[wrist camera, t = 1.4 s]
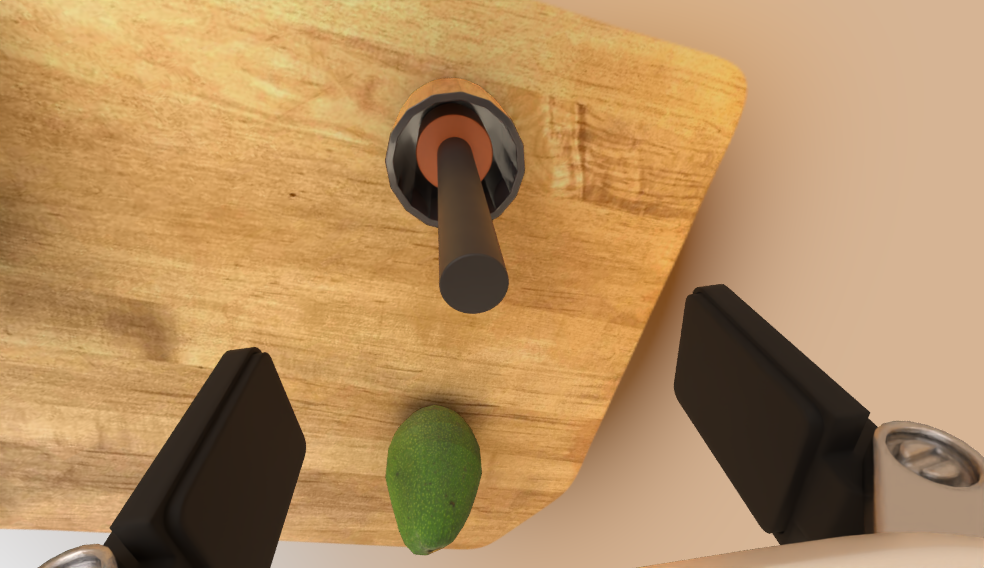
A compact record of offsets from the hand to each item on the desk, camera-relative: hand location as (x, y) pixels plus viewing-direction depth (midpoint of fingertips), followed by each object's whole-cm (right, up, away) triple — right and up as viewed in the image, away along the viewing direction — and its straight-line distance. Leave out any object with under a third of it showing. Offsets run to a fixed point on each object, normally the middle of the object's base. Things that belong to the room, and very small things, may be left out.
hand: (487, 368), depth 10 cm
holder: (-3, +12, +19) cm, 23 cm away
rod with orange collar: (-2, +11, +19) cm, 22 cm away
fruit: (-5, -11, +32) cm, 34 cm away
